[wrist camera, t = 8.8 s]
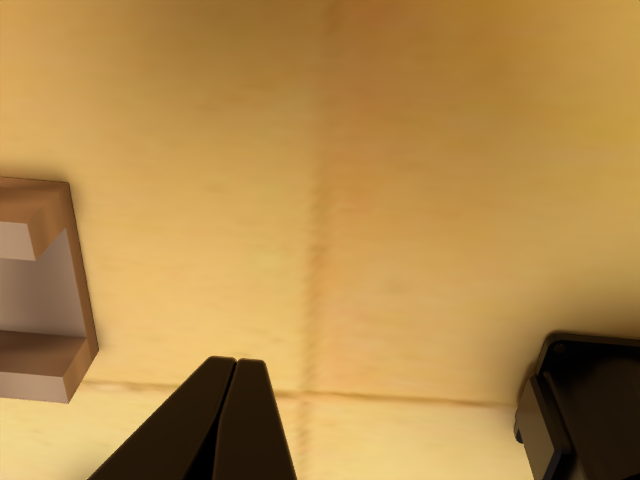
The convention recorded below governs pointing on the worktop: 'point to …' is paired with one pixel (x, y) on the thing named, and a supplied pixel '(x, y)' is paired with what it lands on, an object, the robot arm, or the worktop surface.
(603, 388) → the robot arm
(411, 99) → the worktop surface
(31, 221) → the tan cradle
